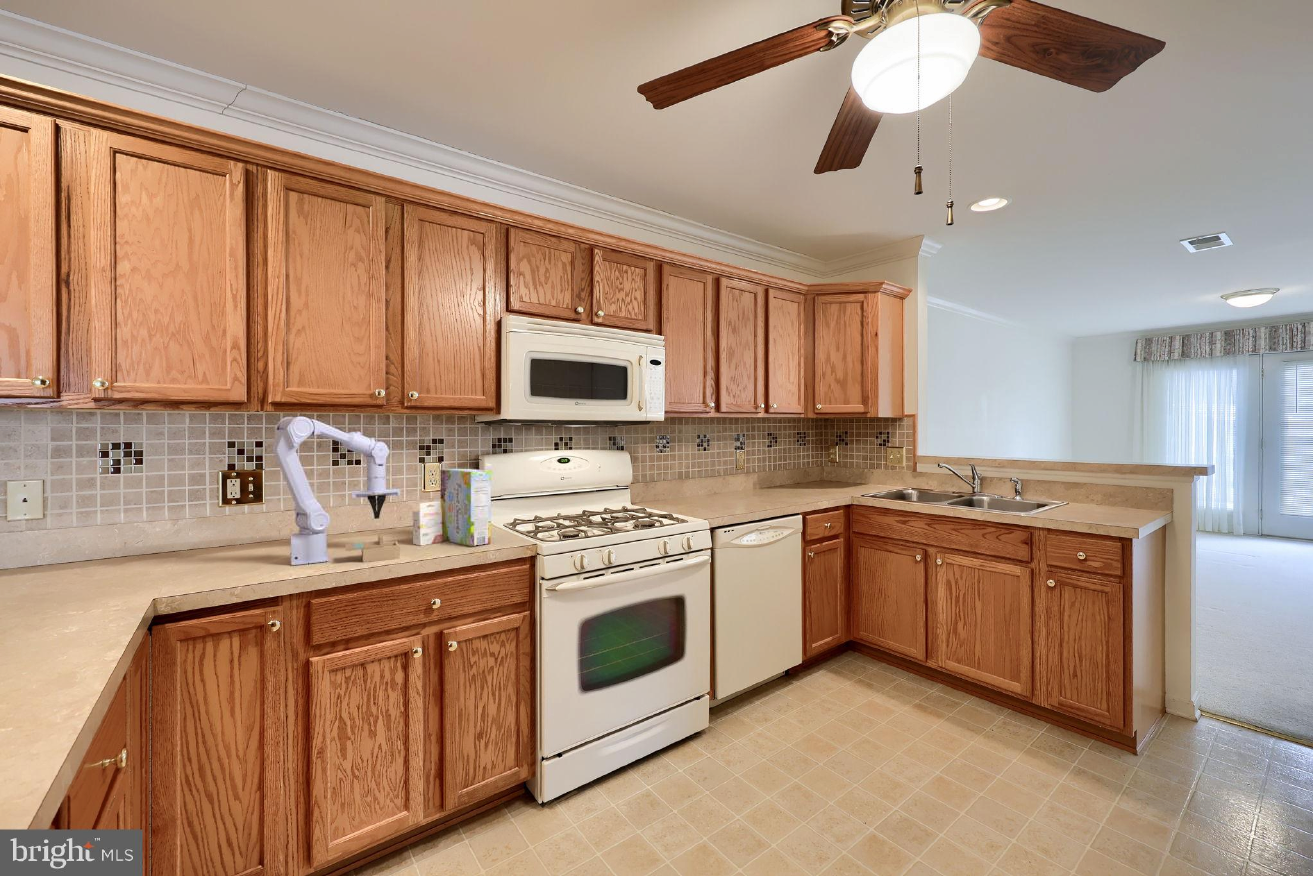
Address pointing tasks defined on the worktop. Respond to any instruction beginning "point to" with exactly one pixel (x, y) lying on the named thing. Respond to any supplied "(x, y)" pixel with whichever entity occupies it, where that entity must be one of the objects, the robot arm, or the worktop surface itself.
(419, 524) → the ink cartridge box
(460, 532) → the snack box
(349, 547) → the mailer lid
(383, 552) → the mailer tray
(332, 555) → the worktop surface
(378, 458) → the robot arm
